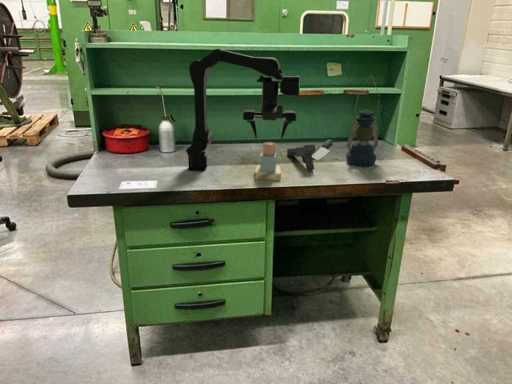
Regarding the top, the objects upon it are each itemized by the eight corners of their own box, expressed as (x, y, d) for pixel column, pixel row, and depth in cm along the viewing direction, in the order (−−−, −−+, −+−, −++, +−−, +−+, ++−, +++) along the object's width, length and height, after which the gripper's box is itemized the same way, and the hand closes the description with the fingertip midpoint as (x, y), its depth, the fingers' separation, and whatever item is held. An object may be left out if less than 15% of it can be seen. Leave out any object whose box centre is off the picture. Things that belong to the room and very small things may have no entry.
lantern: (354, 168, 164) (364, 76, 152) (337, 160, 175) (345, 73, 162) (384, 165, 169) (396, 75, 157) (366, 157, 180) (376, 72, 167)
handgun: (307, 171, 159) (306, 145, 158) (285, 169, 182) (284, 146, 181) (316, 171, 160) (315, 144, 159) (294, 168, 183) (293, 145, 182)
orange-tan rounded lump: (261, 156, 150) (262, 145, 149) (263, 152, 154) (264, 142, 153) (274, 156, 150) (274, 145, 148) (275, 153, 154) (276, 142, 152)
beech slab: (255, 179, 151) (255, 173, 150) (255, 171, 159) (256, 165, 158) (280, 180, 151) (280, 173, 150) (279, 172, 159) (280, 165, 158)
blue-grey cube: (260, 171, 151) (260, 156, 149) (260, 166, 156) (260, 152, 154) (275, 171, 151) (276, 157, 149) (275, 167, 156) (275, 152, 154)
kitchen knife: (322, 159, 173) (311, 154, 175) (320, 164, 175) (309, 160, 176) (337, 141, 198) (328, 137, 200) (335, 146, 200) (326, 142, 201)
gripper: (242, 98, 141) (242, 143, 146) (298, 99, 140) (295, 145, 146) (244, 93, 151) (243, 136, 157) (296, 94, 151) (294, 137, 156)
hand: (268, 138), depth 154 cm, fingers open, 9 cm apart
